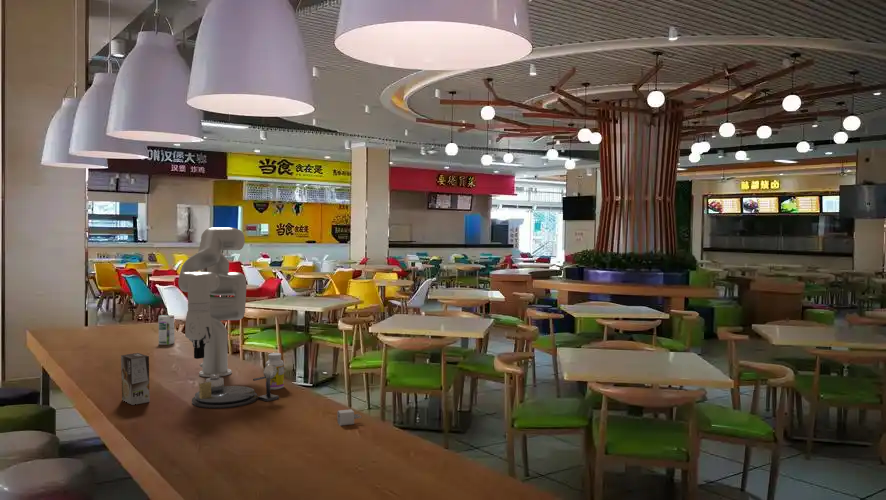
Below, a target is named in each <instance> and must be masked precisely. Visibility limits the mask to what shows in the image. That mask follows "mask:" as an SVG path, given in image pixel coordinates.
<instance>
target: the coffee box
mask: <svg viewBox="0 0 886 500" xmlns="http://www.w3.org/2000/svg"><path fill="white" fill-rule="evenodd" d="M120 363H121V367H120V370H121V373H120V374H121V401H122V400H123V401H122V402H124V401H125V402H124V403H126V402H127V403H126V404H129V405H132V406H135V404H136V405H139V404H140V405H141V404H145V403H150V401H151V400H150V397H151V396H150V356H149V355H147V354H142V353H140V352H139V353H138V352H137V353H135V352H134V353H128V354H122V355H120Z"/></svg>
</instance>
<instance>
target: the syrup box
mask: <svg viewBox="0 0 886 500" xmlns="http://www.w3.org/2000/svg"><path fill="white" fill-rule="evenodd" d="M157 320H158V345H165V346H169V345H172V344H175V315H172V314H171V315H169V314H162V315H161V314H160V315H158V318H157Z"/></svg>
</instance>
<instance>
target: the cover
mask: <svg viewBox="0 0 886 500" xmlns="http://www.w3.org/2000/svg"><path fill="white" fill-rule="evenodd" d="M224 381H225V380H224V377H222V376H221V377H219V374H212V375H210V377H207V378H205V382H211V392H220V391H223V390H224V386H225V385H224V384H225V383H224Z"/></svg>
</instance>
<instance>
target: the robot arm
mask: <svg viewBox="0 0 886 500" xmlns="http://www.w3.org/2000/svg"><path fill="white" fill-rule="evenodd" d="M245 242H246V241H245V234H244V233H243V231H242V230H240V229H239V228H236V227H209V228H206V229H204V231H203V233H202V234H201V237H200V242H199V247H198V251H197V253H195V254H193V255H192V256H190V257H188V259H187V260H185V261H184V263H182V266H181V268H180V272H179V277H178V281H177V282H178V287H179V289H180V290H181V291H182V292H184V293H187V311H186V315H185V328H184V329H185V330H184V332H185V333H184V335H185V338H186V339H188V340H189V341H190V342H191V343H192V347H193V359H196V360H199V359H202V363H200V364H199V367H200V368H201V369H202V370H200V371H199V373H198V376H200V377H203V378H210V375H212V374H219V377H221V378H222V377H224V376H229V375H232V372H233V371H232V369H230V368H229V367H228V366H229V365H228V362H229V359H228V358H229V357H228V329H227V327H226V326H225V325H224V324H223V322H222V321H240V320H242V319H243V318H245V313H246V302H247V299H246V298H247V297H246V296H247V279H246V276H245V274H243V273H242V272H235V271H234V272H229V269H230V262H229V260H228V259H227V257H226V256H225V255H224V254H223V253H222V252H223V251H241V250H242V249H243V248H244V246H245ZM204 269H207V270H206V271H201V270H204ZM211 295H212V296H211Z"/></svg>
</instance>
